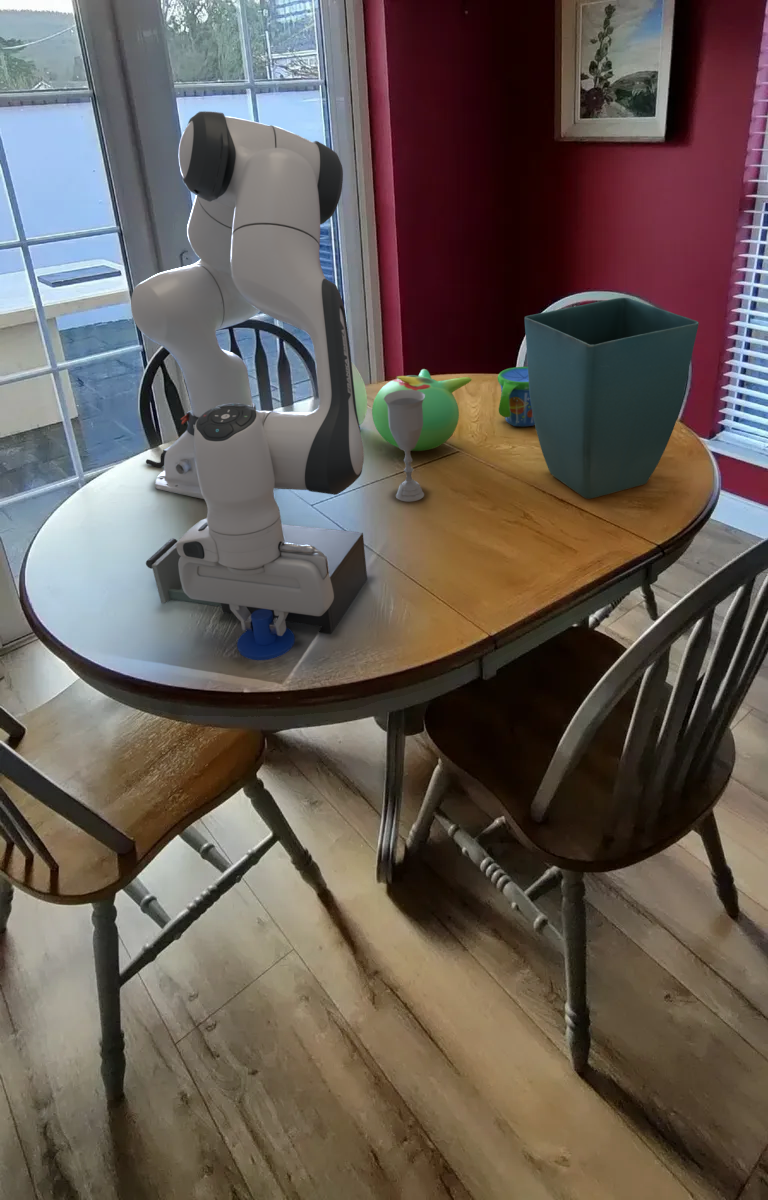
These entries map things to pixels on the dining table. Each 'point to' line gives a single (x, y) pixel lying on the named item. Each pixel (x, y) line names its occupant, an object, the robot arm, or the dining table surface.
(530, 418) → the snack cup
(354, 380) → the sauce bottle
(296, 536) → the dark grey drawer cabinet
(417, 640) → the dining table surface
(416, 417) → the chalice
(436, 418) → the toy bird
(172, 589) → the grey drawer
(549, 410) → the flower pot
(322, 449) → the robot arm
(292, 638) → the lid
